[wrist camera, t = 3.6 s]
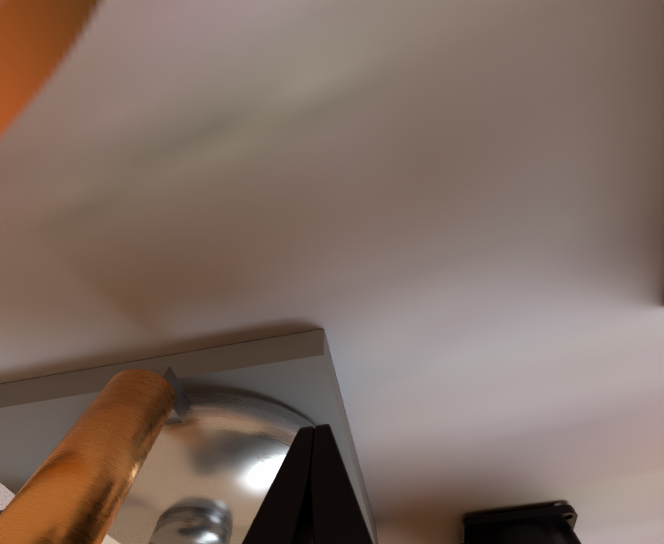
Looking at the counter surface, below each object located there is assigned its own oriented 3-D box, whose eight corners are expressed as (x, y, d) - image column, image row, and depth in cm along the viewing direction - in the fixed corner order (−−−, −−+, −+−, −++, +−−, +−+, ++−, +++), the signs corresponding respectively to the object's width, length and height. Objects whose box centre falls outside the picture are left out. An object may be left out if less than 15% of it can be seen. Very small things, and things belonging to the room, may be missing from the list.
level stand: (323, 328, 12) (323, 362, 11) (376, 530, 19) (381, 569, 18) (-34, 389, 14) (-85, 428, 12) (139, 558, 21) (122, 598, 19)
